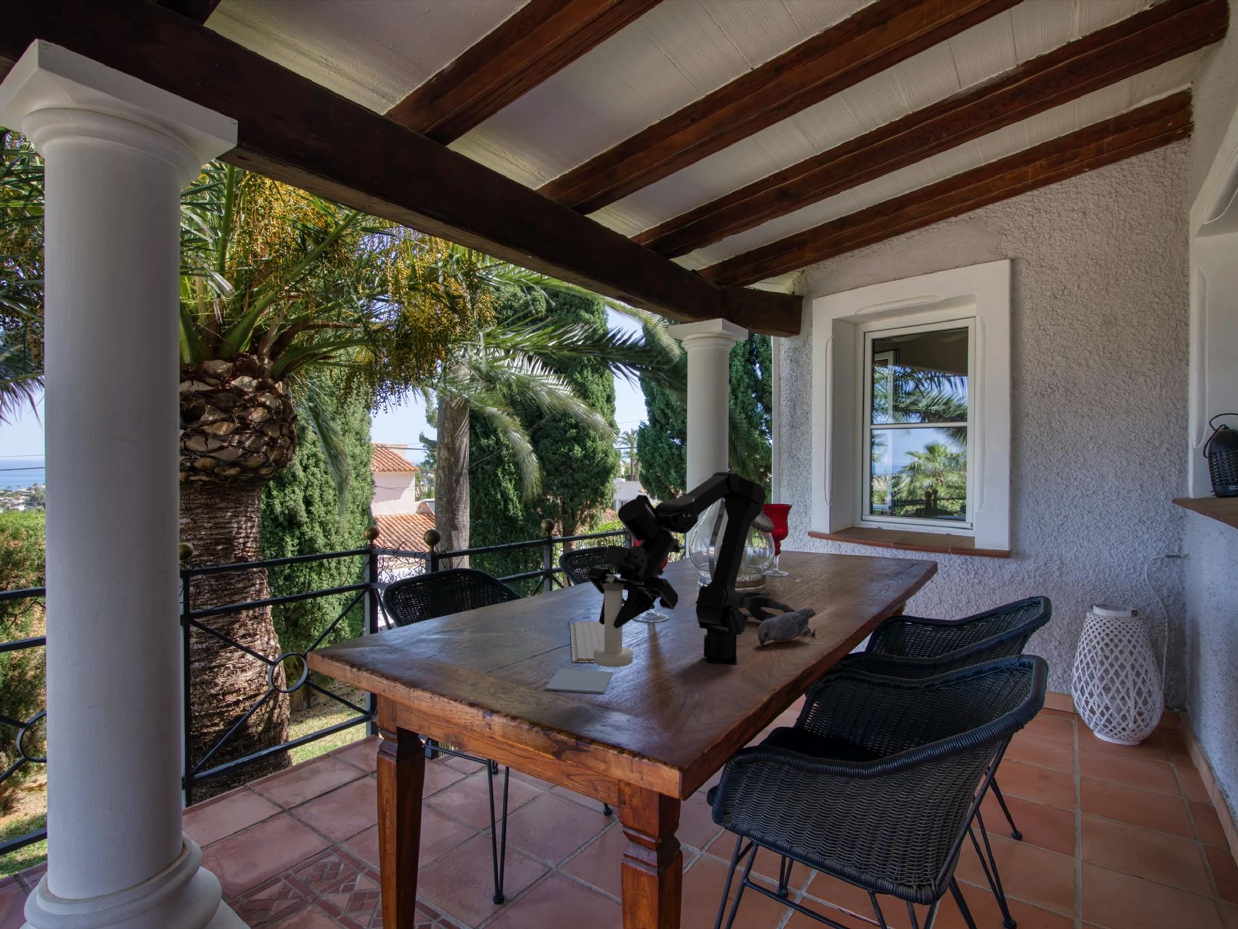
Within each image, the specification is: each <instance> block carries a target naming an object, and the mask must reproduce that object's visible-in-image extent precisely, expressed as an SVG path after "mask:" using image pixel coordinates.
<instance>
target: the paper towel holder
mask: <svg viewBox="0 0 1238 929" xmlns="http://www.w3.org/2000/svg"><path fill="white" fill-rule="evenodd" d="M603 589H605V617H604V647H600V648H597V649H595V650H594V662H593V663H594V664H596V665H598V666H601V667H608V668H619V667H626V666H629V665H630V664H632V663H633V662H634V661H633V660H634V659H633V658H634V654H633V652H634V651H633V650H632V649H631V648H629V647H625V646H623V626H621V627H619V628H618V629H616V628H615V627H614V626H613V624H614V622H615V619H616V617H617V615H618V614H619V612H620V610H621V608H622V606H623V605H622V603H623V598H624V597H623V592H624V590H623V589H624V584H622V583H605V584H603Z"/></svg>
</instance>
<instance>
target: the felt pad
mask: <svg viewBox="0 0 1238 929" xmlns="http://www.w3.org/2000/svg"><path fill="white" fill-rule="evenodd" d="M613 674H614V672H613V671H604V670H603V671H602V670H588V669H587V670H586V669H585V670H584V669H570V668H569V669H568V668H558V669H557V671H556V673H555V674H554V675H553V676H552V678H551V679H550V681H549V682H548V684H546V686H545V687H544V688H545V689H546V690H545V689H544V690H545V691H552V690H557V691H556V692H568V691H569V692H572V693H585V694H586V693H587V694H601V695H604V694H605V693H606V690H607V688H608V685H609V684H610V681H611V679H612V678H613ZM547 689H548V690H547ZM569 692H568V693H569Z"/></svg>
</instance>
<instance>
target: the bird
mask: <svg viewBox="0 0 1238 929" xmlns="http://www.w3.org/2000/svg"><path fill="white" fill-rule="evenodd" d="M795 611H796V612H787V613H784V612H782V613H781V614H778V615H777V617H774V618H771V619H766V620H764V621H761V623H760V625H758V628H757V638H758V642H759V644H760V646H761V645H762V646H761V647H763V646H764V644H765V643H766V642H770V641H773V642H776V643H778V642H779V643H784V642H789V641H792V640H794V639H797V638H798V637H800V636H804V635H805V636H806V637H808V635H807V632H809V633H808V634H810V635H809V637H808V638H809V639H810V638H811V639H813V638H814V640H817V638H816V627H815V628H814V629H813V632H810V630H808V628H809V625H810V624H809V619H810V618H809V615H810V614H812V613H813V612H815V609H814V608H813V607H805V608H802V609H799V610H795ZM806 631H807V632H806Z"/></svg>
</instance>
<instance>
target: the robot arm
mask: <svg viewBox="0 0 1238 929" xmlns="http://www.w3.org/2000/svg"><path fill="white" fill-rule="evenodd" d="M766 498H767V494H766V491H765V489H764V488H763V486H762V485H761V484H760V483H759V482H758V483H757V482H754V481H752V480H750V479H747V478H744V477H742V476H740V475H739V474H738V473H735V472H734V471H733V472H732V471H717V472H714V473H713V474H712V476H711V477H709V478H708V479H707V480H705V481H704V482H702V483H700V484H699V485H697V486H696V487H695V488H693V489H692V490H690V491H689V492H687V493H686V494H684V495H683V496H680V497H675V498H670V499H667V500H664V501H662V502H660V503H657V505H656V506H655V507H654V506H653V504H652V503H651V500H650V499H649V497H648V496H647V495H646V494H637V495H636V497H635V498H634V499H633V498H632V499H631V500H629V501H627V502H626V503H625V504H623V505H621V507H620V508H619V510H618V512H617V518H618V519H619V521H620V522H621V523H622V525H623V526H624V527H625V529H626V530H627V532H629V535H631V537H632V538H633V539H634V540H635V541H640V543H639V545H632V546H631V548H629V547H624V546H621V545H620V546H619V545H612V544H608V546H607V549H606V552H605V555H604V558H603V562H604V563H605V564H609V565H611V566H614V567H615V568H614V571H615V572H616V574H618V575H620V576H619V577H618V576H616V574H614V573H613V572H612V570H611V569H610V568H607V567H602V566H591V568H590V570H589V571H588V573H587V574H586V578H587V579H588V580H589V581H590V582H591V584H592V585H593V586H594V588H596V590H598V592H599V593H600V594H602V595H603V600H602V605H601V608H600V609H601V610H600V615H599V618H598V622H600V623H601V624H602V625H604V617H605V589H603V584H605V583H622V584H624V589H623V591H627V595H626V599H625V598H624V597H623V603H622V608H621V610H620V612H619V614H618V615H617V617H616V619H615V622H614V624H613V626H614V627H615V628H616V629H618V628H619V627H621V626H622V627H623V626H624V625H626V624H628V623H629V622H631V620H633V619H635V618H637V617H638V616H640V615H642V614H644V613H646V612H647V611H650V610H655V608H656V606H655V602H656V601H657V600H658V599H659V598H660V599H659V606H660V607H661V608H663V609H667V610H674V609H675V607H676V606H677V604H678V602H679V595H678V593H677V591H676V589H675V588H674V587H673V586H672V585H671V583H670V581H668V579H666V578H662V577H657V576H663V574H664V570H663V569H662V567H663V565H664V564H665V561H666V559H667V557H668V556H669V554H670V553H675V554H679V553H680V552H681V548H680V545H679V539H678V538H674V536H673V535H672V533H675V534H688V533H689V532H690V531H691V530H692V529H693V528H694V527H695V526H696V525H697V524H698V521H699V515H701V514H702V513H703V512H704V511H706V510H707V509H708V508H710V507H711V506H713V505H714V504H715V503H717V502H718V501H719V500H721V499H723V500H724V503H723V504H724V506H723V507H724V509H725V512H726V516H727V522H726V524H725V529H724V532H723V536H722V539H721V544H720V549H719V552H718V556H717V560H716V564H715V568H714V571H713V574H712V575H713V576H712V580H711V581H709V583H708V584H707V585H701V586H700V587H699V589H698V590H699V591H698V597H697V599H696V601H695V605H696V606H695V614H696V617H697V622H698V626H699V629H705V630H706V634H703V657H704V658H705V662H707V663H719V664H720V663H721V664H722V663H723V664H738V656H737V645H738V644H737V641H738V640H737V639H738V636H740V635H742V633H744V632H745V629H746V624H747V623H746V621H745V620H744V619H743V617H742V616H741V614H740V613H739V612H738V604H739V600H738V597H737V594H736V591H737V590H736V584H737V578H738V575H739V570H740V568H741V562H742V559H743V554H744V550H745V546H746V543H747V537H748V535H749V530H750V526H751V524H752V523H753V522H754V520H756V519H757V517H759V516H760V515H761V512H762V510H763V507H764V503H765V502H766Z"/></svg>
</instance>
